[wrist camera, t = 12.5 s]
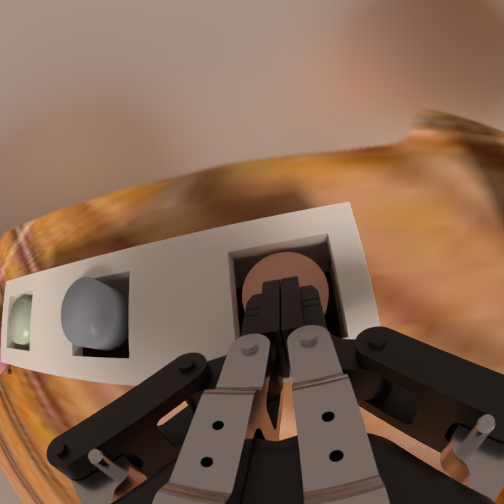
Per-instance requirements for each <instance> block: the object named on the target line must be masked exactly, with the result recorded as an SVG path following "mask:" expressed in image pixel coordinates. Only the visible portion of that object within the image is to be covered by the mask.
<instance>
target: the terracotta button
mask: <svg viewBox="0 0 504 504" xmlns="http://www.w3.org/2000/svg"><path fill="white" fill-rule="evenodd" d="M293 276H298V280H299V286H300V287H302V286H307V285H312V286H314V287H315V288H316V289H317V290H318V292H319V296H320V301H321V305H322V309H323V313H324V316H325V312H326V308H327V303H328V297H329V290H328V283H327V280H326V277H325V275H324V273H323V271H322V270H321V268H320V267H319V266H318V265H317V264H316V263H315V262H314V261H313V260H311V259H310V258H308V257H306V256H304V255H302V254H298V253H294V252H280V253H275V254H272V255H269V256H267V257H265V258H263V259H262V260H261V261H259V262H258V263H257V264H256V265H255V266H254V267H253V268H252V269H251V270H250V272H249V273H248V275H247V277H246V279H245V282H244V285H243V290H242V302H243V307H244V310H245V309H246V303H247V301H248V300H249V299H250V298H251V296H252V295H255V294H261V293H262V285H263V282H265V281H271V280H277V279H280V281H281V279H282V278H288V277H293Z"/></svg>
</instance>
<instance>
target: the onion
mask: <svg viewBox="0 0 504 504" xmlns="http://www.w3.org/2000/svg"><path fill="white" fill-rule="evenodd" d="M1 328H2V326H1V325H0V374H2V373H4V372H6V371H7V370H8V372H7V373H8V374H11V369H10V367H11V365H10V364H7V363H3V362H1Z"/></svg>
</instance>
